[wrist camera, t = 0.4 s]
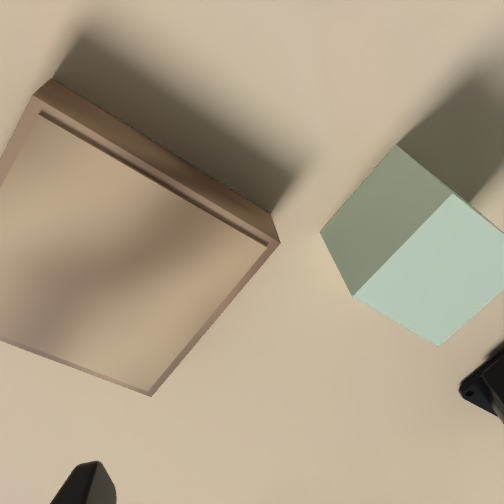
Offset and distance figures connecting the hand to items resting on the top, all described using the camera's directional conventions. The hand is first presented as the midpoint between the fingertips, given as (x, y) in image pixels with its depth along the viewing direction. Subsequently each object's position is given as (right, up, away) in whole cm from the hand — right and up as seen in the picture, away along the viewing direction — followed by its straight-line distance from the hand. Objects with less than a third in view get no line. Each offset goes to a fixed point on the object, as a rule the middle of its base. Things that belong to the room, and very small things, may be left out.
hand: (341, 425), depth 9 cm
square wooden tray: (-8, +4, +12) cm, 15 cm away
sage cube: (+5, +5, +13) cm, 15 cm away
